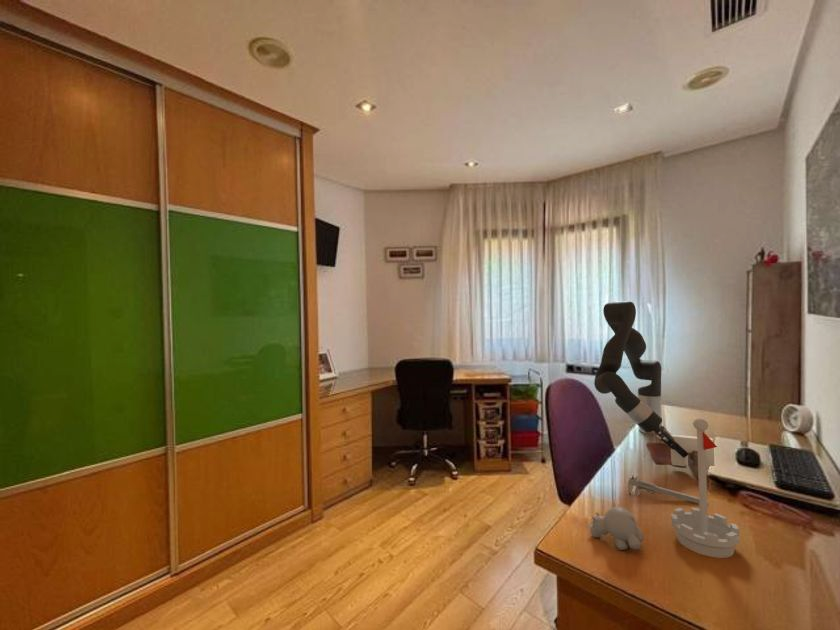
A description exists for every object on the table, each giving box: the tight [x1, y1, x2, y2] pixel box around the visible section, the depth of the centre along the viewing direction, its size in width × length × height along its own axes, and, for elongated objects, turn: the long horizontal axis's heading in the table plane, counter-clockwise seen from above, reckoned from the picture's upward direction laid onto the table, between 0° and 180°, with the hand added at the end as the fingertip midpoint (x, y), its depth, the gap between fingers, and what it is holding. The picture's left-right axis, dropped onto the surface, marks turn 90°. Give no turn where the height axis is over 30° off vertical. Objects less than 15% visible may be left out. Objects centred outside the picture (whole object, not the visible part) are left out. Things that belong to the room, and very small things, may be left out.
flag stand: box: [670, 417, 740, 559], centre depth 91 cm, size 13×13×30 cm
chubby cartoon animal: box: [587, 506, 645, 551], centre depth 93 cm, size 7×12×8 cm, turn 46°
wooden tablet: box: [646, 442, 687, 468], centre depth 149 cm, size 27×10×2 cm, turn 157°
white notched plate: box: [670, 433, 715, 470], centre depth 132 cm, size 2×12×10 cm, turn 64°
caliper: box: [627, 474, 710, 506], centre depth 113 cm, size 20×1×6 cm, turn 69°
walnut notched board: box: [687, 451, 699, 480], centre depth 131 cm, size 12×2×8 cm, turn 154°
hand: (685, 454), depth 132 cm, fingers closed on white notched plate, 2 cm apart
